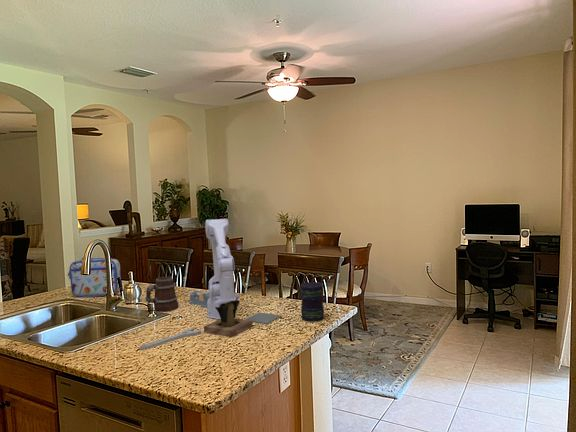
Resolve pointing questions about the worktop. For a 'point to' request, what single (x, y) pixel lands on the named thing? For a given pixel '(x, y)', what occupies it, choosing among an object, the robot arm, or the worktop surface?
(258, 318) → the rubber mat
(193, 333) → the adjustable wrench
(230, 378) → the worktop surface
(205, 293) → the vise
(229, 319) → the olive brown rounded piece
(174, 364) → the worktop surface
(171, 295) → the mug
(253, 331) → the worktop surface
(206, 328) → the walnut holder
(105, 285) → the lunch box
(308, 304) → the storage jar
